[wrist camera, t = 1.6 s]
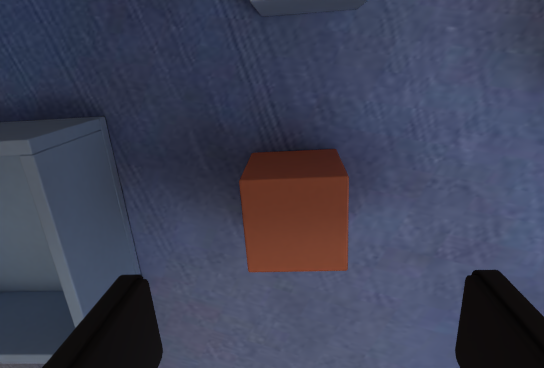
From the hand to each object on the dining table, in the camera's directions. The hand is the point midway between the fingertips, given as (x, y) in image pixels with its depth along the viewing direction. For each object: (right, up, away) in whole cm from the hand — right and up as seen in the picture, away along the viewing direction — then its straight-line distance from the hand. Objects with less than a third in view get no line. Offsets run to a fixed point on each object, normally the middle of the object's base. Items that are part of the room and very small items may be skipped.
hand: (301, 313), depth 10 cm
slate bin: (-15, +2, +10) cm, 18 cm away
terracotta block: (0, +4, +9) cm, 9 cm away
